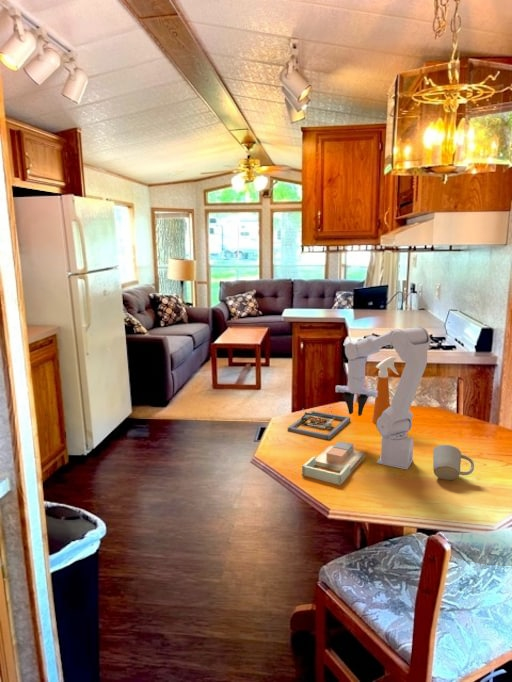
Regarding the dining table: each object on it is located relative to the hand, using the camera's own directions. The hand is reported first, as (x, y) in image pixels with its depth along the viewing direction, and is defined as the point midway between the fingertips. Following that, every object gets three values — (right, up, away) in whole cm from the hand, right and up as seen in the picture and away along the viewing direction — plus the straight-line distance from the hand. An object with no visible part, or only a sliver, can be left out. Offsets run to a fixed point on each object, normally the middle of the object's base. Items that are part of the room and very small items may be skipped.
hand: (355, 414), depth 167 cm
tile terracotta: (-9, -12, -17) cm, 22 cm away
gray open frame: (-11, -8, +15) cm, 20 cm away
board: (-8, -14, -15) cm, 21 cm away
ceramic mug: (+23, -15, -25) cm, 38 cm away
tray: (-14, -15, -24) cm, 31 cm away
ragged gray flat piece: (-12, -8, +16) cm, 21 cm away
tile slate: (-7, -11, -12) cm, 17 cm away
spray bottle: (+16, -7, +20) cm, 26 cm away
